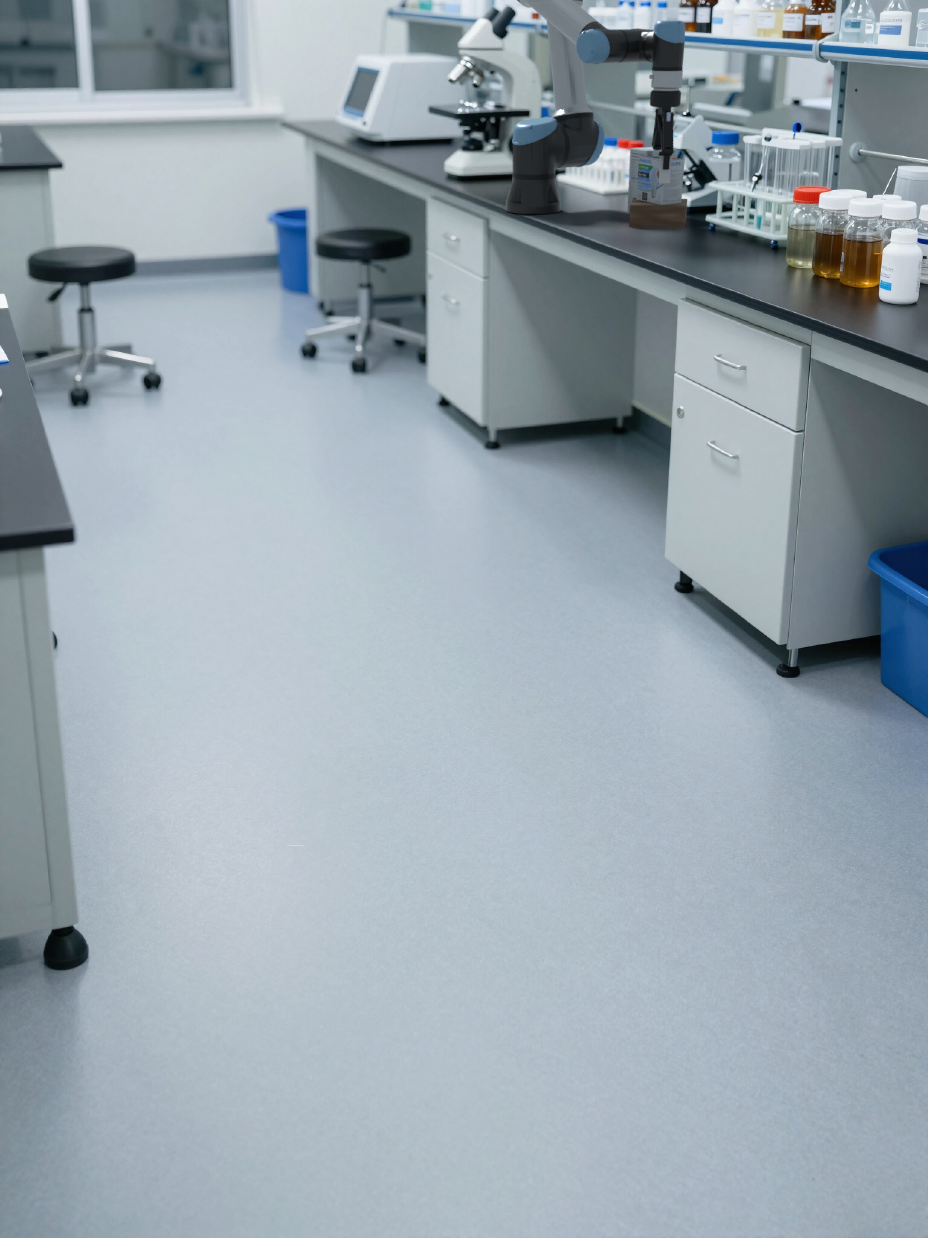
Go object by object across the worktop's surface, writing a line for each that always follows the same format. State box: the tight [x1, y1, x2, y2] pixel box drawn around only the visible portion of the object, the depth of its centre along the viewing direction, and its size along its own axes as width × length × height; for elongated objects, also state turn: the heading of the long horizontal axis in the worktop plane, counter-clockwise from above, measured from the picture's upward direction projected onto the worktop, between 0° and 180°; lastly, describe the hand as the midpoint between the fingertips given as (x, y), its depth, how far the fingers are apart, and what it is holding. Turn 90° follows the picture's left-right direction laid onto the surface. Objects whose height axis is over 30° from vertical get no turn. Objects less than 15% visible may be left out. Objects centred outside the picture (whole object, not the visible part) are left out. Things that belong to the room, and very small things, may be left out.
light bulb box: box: [636, 155, 685, 205], centre depth 323 cm, size 11×7×11 cm, turn 32°
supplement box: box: [626, 146, 677, 215], centre depth 337 cm, size 10×9×17 cm
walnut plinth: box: [628, 198, 688, 229], centre depth 326 cm, size 14×14×6 cm
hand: (660, 179), depth 323 cm, fingers open, 13 cm apart
